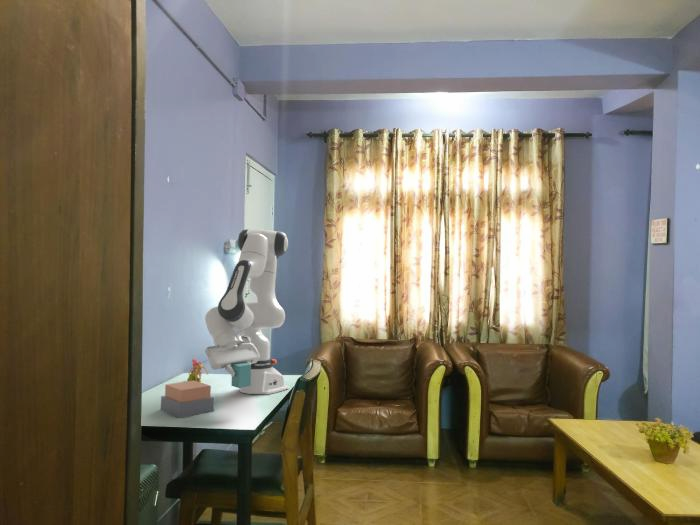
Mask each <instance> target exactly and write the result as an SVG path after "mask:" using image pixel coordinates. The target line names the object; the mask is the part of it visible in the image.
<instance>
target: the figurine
mask: <svg viewBox="0 0 700 525" xmlns="http://www.w3.org/2000/svg"><path fill="white" fill-rule="evenodd" d="M197 364H198V365H197V366H195V367H194V366H192V368H191V369H190V370H189V372H188V375H190V374H191V372H192V370H193V368H197V372H195V373H196V374H195V379H196V381H197V376H198V377H199V382H200V380H201V379H202V378H201V377H202V374H203V371H202V369H205V372H206V375H209V372H208V368H207V367H206V366H204V365H202V363H201V364H200V363H199V362H197Z"/></svg>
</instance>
